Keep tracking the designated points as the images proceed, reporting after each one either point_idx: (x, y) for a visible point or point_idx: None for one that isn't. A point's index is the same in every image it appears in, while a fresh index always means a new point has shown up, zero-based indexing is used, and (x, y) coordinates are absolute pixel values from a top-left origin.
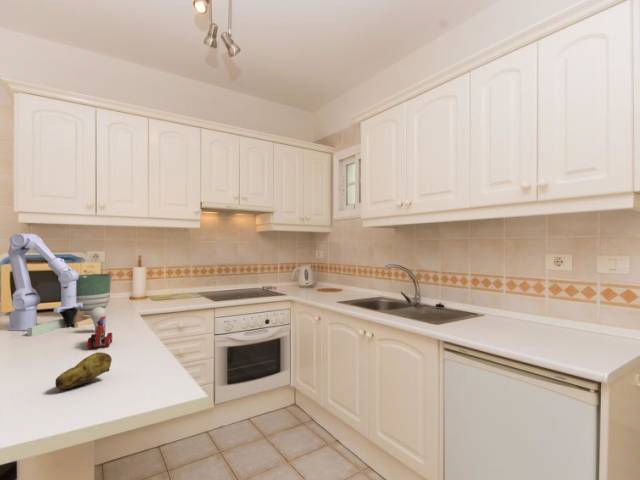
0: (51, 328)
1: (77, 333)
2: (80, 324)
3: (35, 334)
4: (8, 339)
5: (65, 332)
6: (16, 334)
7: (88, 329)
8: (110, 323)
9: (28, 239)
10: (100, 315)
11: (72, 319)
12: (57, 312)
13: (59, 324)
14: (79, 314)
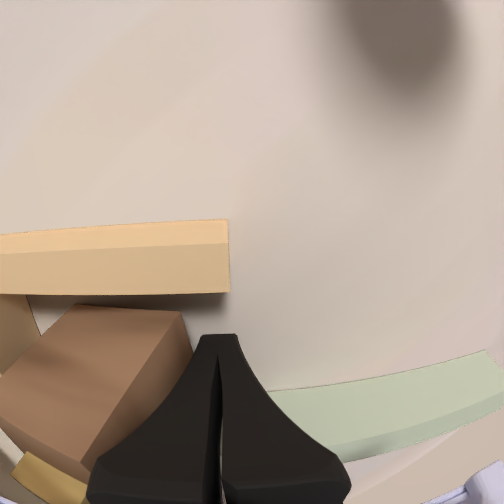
0: (348, 395)
1: (466, 39)
2: (175, 231)
3: (469, 358)
4: None
5: (441, 191)
6: (410, 447)
7: (310, 5)
8: (5, 5)
9: None
10: None
11: (204, 372)
12: (499, 463)
13: None
14: (63, 395)
